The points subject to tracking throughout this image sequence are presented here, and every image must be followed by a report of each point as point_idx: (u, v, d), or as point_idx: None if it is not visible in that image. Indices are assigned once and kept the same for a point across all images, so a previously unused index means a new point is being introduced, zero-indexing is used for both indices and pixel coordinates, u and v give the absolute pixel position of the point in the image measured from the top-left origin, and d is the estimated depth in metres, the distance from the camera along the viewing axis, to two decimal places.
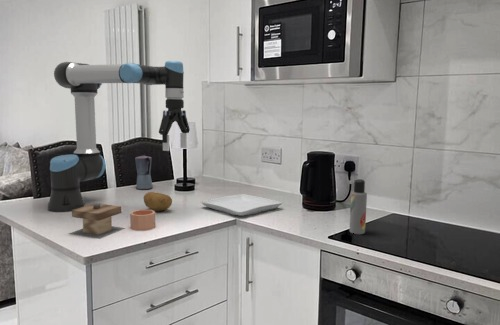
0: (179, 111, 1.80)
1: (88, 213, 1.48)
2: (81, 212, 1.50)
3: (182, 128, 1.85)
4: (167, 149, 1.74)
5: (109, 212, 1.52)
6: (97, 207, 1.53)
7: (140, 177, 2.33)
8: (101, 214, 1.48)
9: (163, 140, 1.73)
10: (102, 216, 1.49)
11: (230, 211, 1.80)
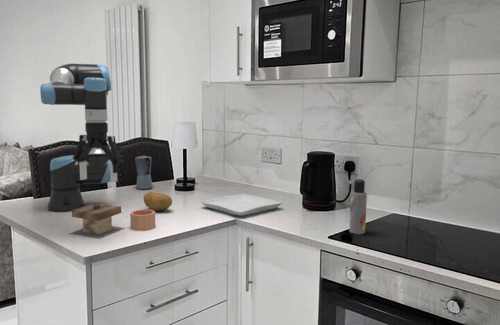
0: (99, 136, 1.50)
1: (88, 213, 1.48)
2: (81, 212, 1.50)
3: None
4: None
5: (109, 212, 1.52)
6: (97, 207, 1.53)
7: (140, 177, 2.33)
8: (101, 214, 1.48)
9: None
10: (102, 216, 1.49)
11: (230, 211, 1.80)
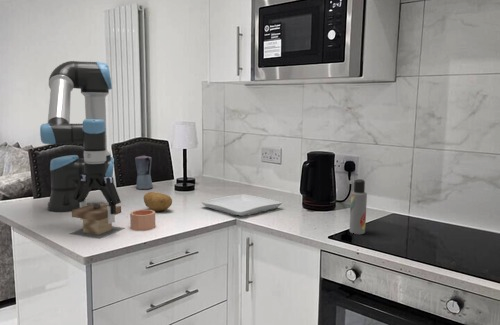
0: (98, 177, 1.51)
1: (88, 213, 1.48)
2: (81, 212, 1.50)
3: None
4: None
5: None
6: (97, 207, 1.53)
7: (140, 177, 2.33)
8: (101, 214, 1.48)
9: None
10: (102, 216, 1.49)
11: (230, 211, 1.80)
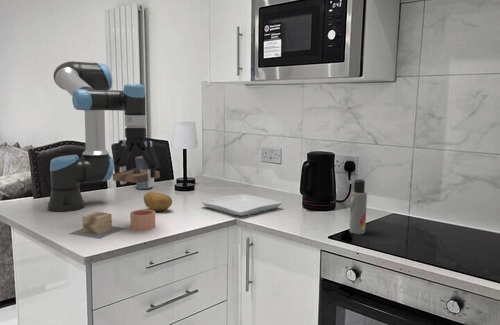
0: (138, 141, 1.54)
1: (129, 176, 1.51)
2: (122, 175, 1.53)
3: None
4: None
5: None
6: (137, 171, 1.56)
7: None
8: (142, 177, 1.51)
9: None
10: (143, 179, 1.52)
11: (230, 211, 1.80)
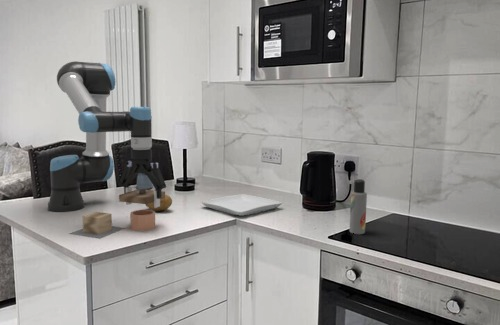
0: (144, 163, 1.56)
1: (136, 197, 1.53)
2: (129, 196, 1.55)
3: None
4: None
5: None
6: (143, 192, 1.58)
7: (140, 177, 2.33)
8: (148, 198, 1.53)
9: None
10: (149, 200, 1.54)
11: (230, 211, 1.80)
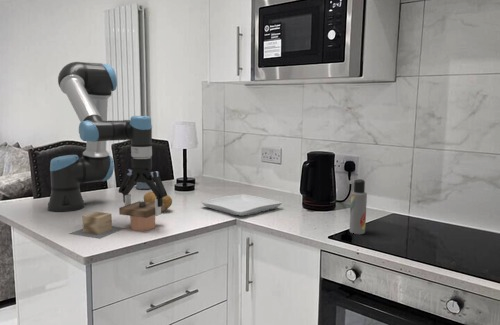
0: (144, 172, 1.57)
1: (136, 211, 1.54)
2: (129, 210, 1.55)
3: None
4: None
5: None
6: (143, 205, 1.59)
7: None
8: (148, 212, 1.54)
9: None
10: (149, 214, 1.55)
11: (230, 211, 1.80)
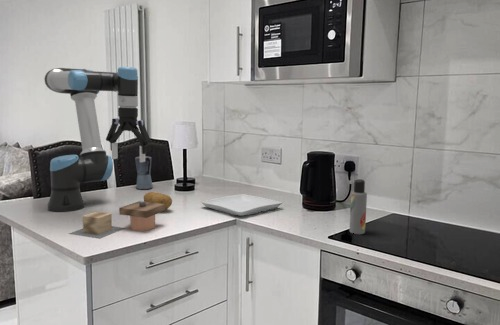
0: (130, 120, 1.66)
1: (136, 211, 1.54)
2: (129, 210, 1.55)
3: None
4: None
5: (155, 209, 1.58)
6: (143, 205, 1.59)
7: (140, 177, 2.33)
8: (148, 212, 1.54)
9: None
10: (149, 214, 1.55)
11: (230, 211, 1.80)
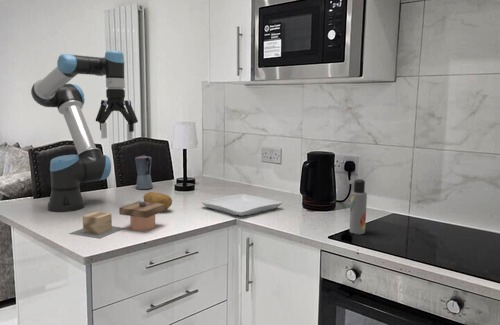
0: (117, 101, 1.78)
1: (136, 211, 1.54)
2: (129, 210, 1.55)
3: None
4: None
5: (155, 209, 1.58)
6: (143, 205, 1.59)
7: (140, 177, 2.33)
8: (148, 212, 1.54)
9: None
10: (149, 214, 1.55)
11: (230, 211, 1.80)
